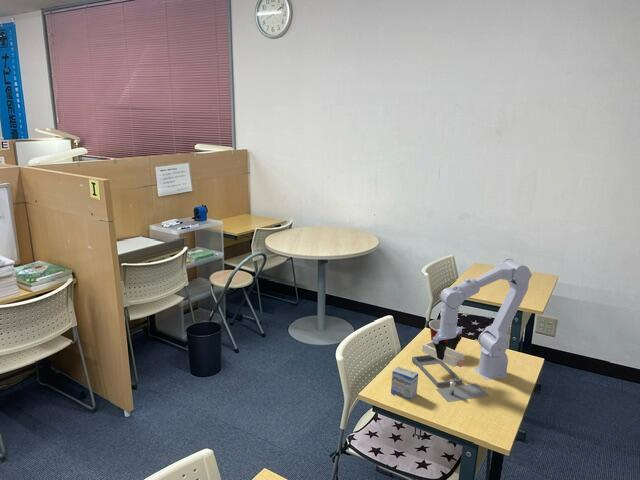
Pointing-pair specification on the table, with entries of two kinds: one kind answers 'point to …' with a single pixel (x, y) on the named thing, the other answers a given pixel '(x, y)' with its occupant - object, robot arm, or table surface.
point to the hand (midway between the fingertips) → (445, 356)
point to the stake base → (461, 392)
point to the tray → (430, 360)
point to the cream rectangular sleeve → (445, 355)
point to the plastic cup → (435, 328)
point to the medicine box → (404, 383)
